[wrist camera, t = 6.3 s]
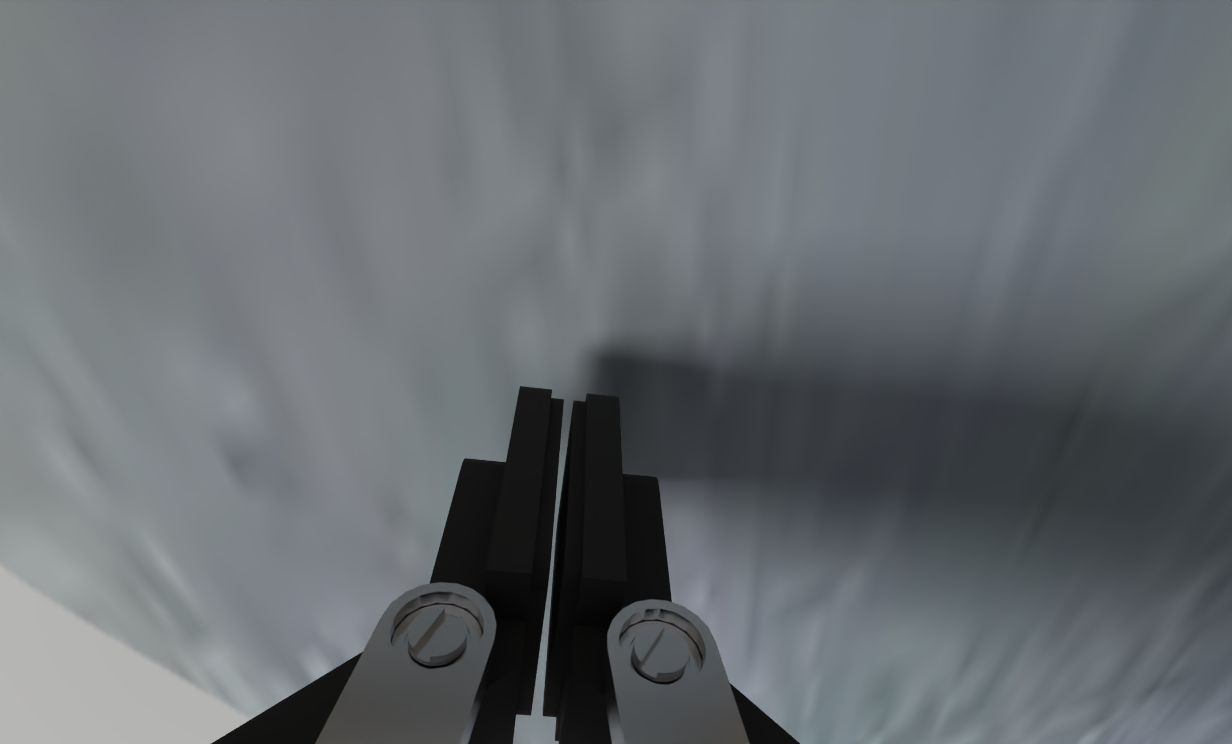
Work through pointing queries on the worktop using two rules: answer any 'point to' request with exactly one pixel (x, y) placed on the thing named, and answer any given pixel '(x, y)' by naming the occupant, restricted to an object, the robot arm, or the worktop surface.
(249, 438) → the worktop surface
